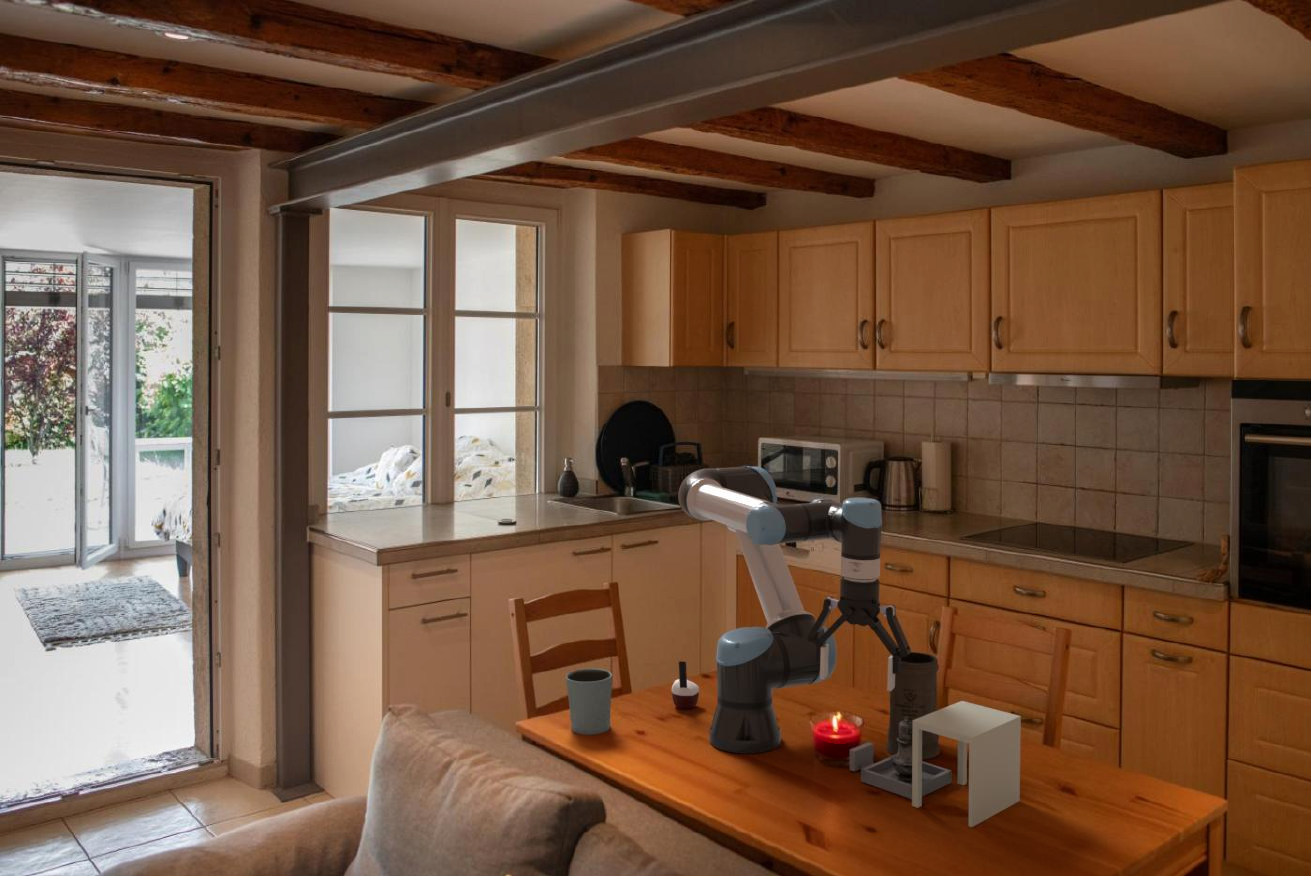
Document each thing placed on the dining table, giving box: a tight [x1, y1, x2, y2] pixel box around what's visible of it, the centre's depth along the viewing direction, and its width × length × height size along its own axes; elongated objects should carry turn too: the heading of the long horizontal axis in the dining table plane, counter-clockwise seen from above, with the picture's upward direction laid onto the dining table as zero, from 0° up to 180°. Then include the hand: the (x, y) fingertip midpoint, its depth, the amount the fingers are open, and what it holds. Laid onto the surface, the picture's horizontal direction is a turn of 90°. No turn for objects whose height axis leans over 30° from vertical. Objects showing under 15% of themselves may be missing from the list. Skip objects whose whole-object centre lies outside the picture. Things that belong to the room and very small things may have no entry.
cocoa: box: [671, 660, 700, 710], centre depth 242 cm, size 10×6×12 cm, turn 149°
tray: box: [849, 741, 952, 800], centre depth 199 cm, size 17×12×4 cm
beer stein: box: [885, 651, 941, 760], centre depth 215 cm, size 15×11×20 cm
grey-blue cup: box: [565, 668, 613, 736], centre depth 229 cm, size 10×10×12 cm
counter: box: [911, 700, 1022, 828], centre depth 187 cm, size 12×16×16 cm
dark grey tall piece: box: [890, 716, 913, 783], centre depth 197 cm, size 6×6×12 cm
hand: (856, 683), depth 205 cm, fingers open, 13 cm apart
